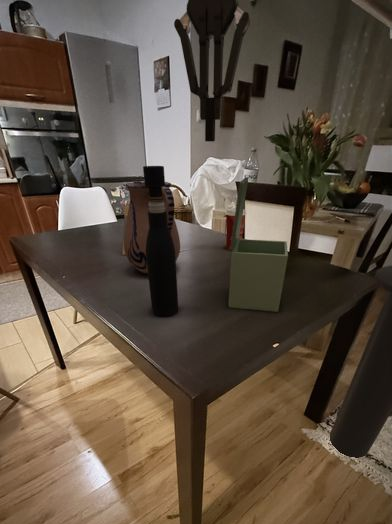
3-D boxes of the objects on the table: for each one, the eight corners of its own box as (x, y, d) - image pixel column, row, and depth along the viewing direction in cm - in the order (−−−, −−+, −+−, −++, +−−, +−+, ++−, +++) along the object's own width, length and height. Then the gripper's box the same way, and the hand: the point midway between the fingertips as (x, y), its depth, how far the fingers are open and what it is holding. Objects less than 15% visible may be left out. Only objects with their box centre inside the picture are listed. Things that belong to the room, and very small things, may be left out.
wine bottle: (167, 319, 66) (155, 167, 49) (146, 312, 69) (128, 166, 51) (183, 308, 70) (177, 165, 53) (163, 302, 73) (151, 165, 56)
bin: (278, 292, 78) (286, 241, 70) (278, 312, 68) (288, 255, 61) (233, 288, 80) (237, 239, 72) (228, 307, 71) (231, 252, 63)
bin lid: (248, 177, 64) (245, 177, 64) (243, 182, 55) (239, 182, 55) (239, 237, 72) (236, 236, 72) (233, 250, 63) (229, 250, 63)
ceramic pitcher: (157, 257, 103) (150, 178, 89) (200, 271, 91) (199, 182, 77) (117, 270, 93) (101, 183, 78) (159, 287, 81) (149, 188, 67)
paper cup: (234, 252, 107) (237, 212, 99) (219, 248, 112) (221, 209, 104) (247, 248, 112) (251, 209, 104) (232, 244, 116) (235, 207, 108)
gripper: (257, -43, 45) (244, 141, 59) (179, -32, 47) (183, 142, 61) (254, -72, 39) (240, 140, 53) (164, -58, 41) (173, 141, 55)
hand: (210, 141), depth 57 cm, fingers closed
